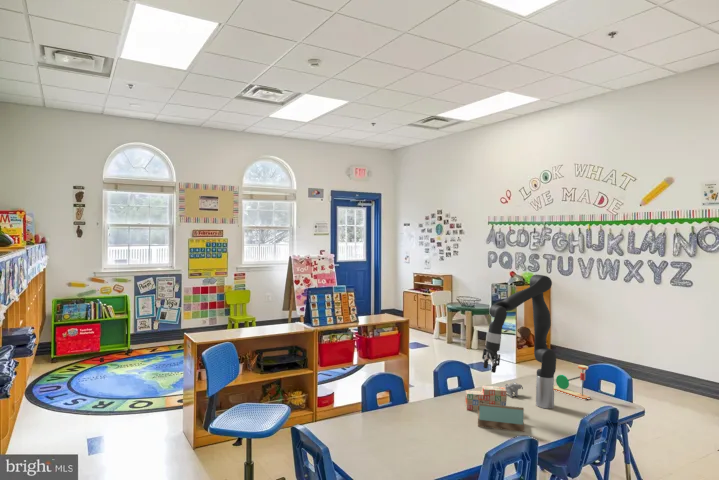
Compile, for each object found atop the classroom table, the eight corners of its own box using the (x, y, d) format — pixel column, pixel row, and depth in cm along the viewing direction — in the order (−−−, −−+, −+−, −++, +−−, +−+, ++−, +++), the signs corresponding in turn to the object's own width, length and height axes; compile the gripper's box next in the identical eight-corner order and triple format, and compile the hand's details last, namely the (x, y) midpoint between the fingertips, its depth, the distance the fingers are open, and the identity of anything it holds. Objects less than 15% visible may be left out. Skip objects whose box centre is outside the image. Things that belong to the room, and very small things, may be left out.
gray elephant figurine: (501, 395, 284) (501, 382, 284) (512, 390, 291) (512, 378, 291) (514, 399, 277) (514, 387, 276) (525, 394, 284) (525, 382, 284)
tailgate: (523, 423, 229) (523, 407, 229) (523, 424, 228) (523, 408, 228) (479, 418, 235) (479, 403, 235) (479, 419, 233) (479, 403, 233)
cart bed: (521, 422, 241) (521, 410, 241) (523, 431, 229) (524, 418, 229) (478, 417, 246) (478, 405, 246) (478, 426, 235) (478, 413, 235)
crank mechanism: (591, 398, 280) (592, 367, 280) (584, 400, 277) (585, 368, 277) (554, 387, 301) (555, 357, 301) (548, 388, 298) (548, 358, 298)
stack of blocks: (466, 410, 257) (467, 388, 257) (465, 406, 263) (465, 384, 263) (506, 412, 255) (506, 390, 255) (503, 408, 261) (504, 386, 261)
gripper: (506, 344, 252) (502, 374, 251) (492, 339, 266) (488, 367, 265) (494, 343, 250) (489, 373, 249) (481, 337, 264) (476, 366, 263)
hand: (489, 370), depth 257 cm, fingers open, 8 cm apart
